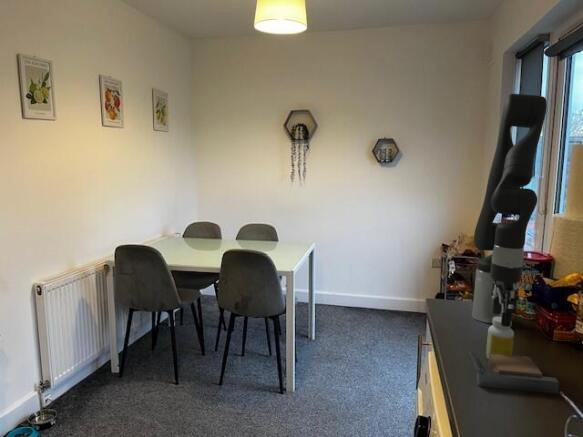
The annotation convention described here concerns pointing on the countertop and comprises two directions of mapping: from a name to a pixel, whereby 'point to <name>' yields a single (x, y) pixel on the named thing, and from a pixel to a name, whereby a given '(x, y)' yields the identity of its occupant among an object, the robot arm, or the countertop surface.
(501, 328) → the pill bottle
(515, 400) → the countertop surface
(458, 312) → the countertop surface
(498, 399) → the countertop surface
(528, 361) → the slab
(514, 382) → the dark grey tray
